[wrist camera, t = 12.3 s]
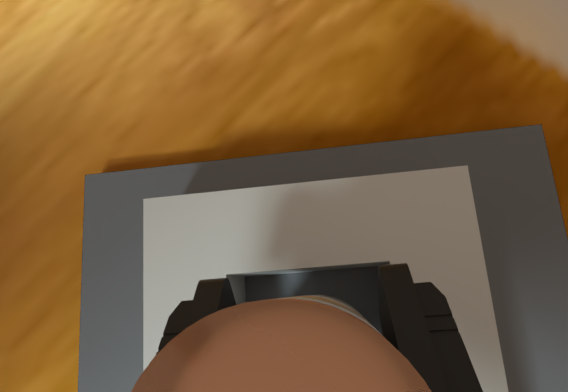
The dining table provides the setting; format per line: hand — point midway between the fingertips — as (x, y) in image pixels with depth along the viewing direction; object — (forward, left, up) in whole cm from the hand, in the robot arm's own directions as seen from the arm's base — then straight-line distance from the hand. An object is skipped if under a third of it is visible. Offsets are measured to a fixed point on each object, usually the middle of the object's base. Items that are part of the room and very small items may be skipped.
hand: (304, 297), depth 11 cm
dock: (0, -2, -7) cm, 7 cm away
